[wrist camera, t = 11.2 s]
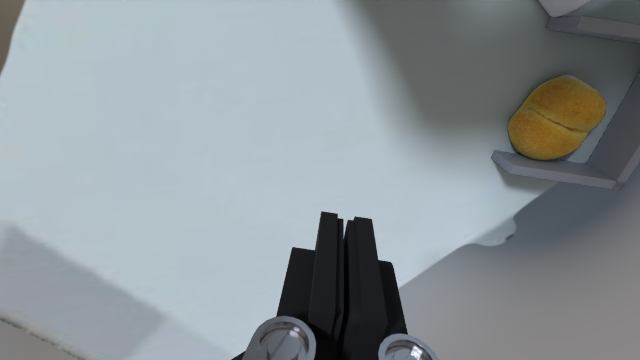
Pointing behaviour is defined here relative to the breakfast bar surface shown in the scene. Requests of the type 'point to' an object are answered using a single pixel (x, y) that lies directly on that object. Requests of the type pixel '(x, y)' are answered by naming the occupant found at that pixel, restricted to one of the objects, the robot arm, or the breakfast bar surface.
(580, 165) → the box
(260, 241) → the breakfast bar surface
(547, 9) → the spoon rest
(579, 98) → the bread roll
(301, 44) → the breakfast bar surface
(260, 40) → the breakfast bar surface
